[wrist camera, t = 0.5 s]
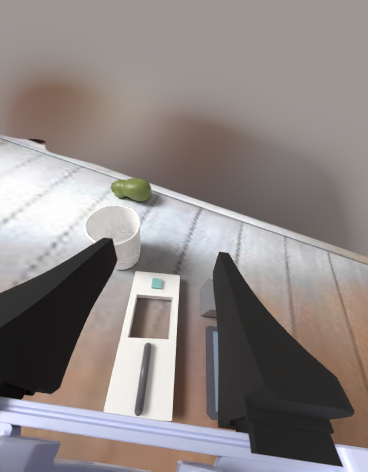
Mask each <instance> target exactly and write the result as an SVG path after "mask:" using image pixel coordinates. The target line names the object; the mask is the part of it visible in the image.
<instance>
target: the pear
mask: <svg viewBox="0 0 368 472" xmlns="http://www.w3.org/2000/svg"><path fill="white" fill-rule="evenodd" d="M111 188H112V191H113V192H114V194H115V196H117V197H118V198H123V197H125V196H127V197H129V198H131V199H133V200H136V201H146V200H147V199H149V197H150V195H151V187H150V185H149V183H148V182H147V181H145V180H143V179H138V178H133V179H128V180H117V181H116V182H114V183H112V185H111Z"/></svg>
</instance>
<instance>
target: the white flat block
mask: <svg viewBox="0 0 368 472" xmlns="http://www.w3.org/2000/svg"><path fill="white" fill-rule="evenodd" d="M179 282H180V275H171V274H161V273H150V272H140V271H136V272H135V277H134V281H133V285H132V290H131V294H130V298H129V303H128V307H127V312H126V316H125V320H124V325H123V329H122V333H121V338H120V342H119V346H118V351H117V355H116V359H115V364H114V368H113V372H112V377H111V381H110V386H109V390H108V394H107V399H106V403H105V407H104V412H106V413H113V414H120V415H127V416H133V417H140V418H147V419H153V420H160V421H172V409H173V391H174V373H175V355H176V336H177V318H178V300H179ZM137 298H150V299H162V300H172V302H171V315H170V327H169V340H167V339H148V338H130V333H131V328H132V323H133V318H134V313H135V308H136V303H137Z"/></svg>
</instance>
